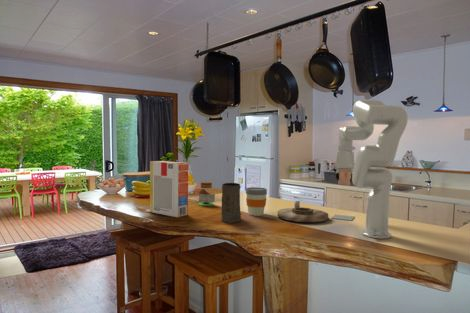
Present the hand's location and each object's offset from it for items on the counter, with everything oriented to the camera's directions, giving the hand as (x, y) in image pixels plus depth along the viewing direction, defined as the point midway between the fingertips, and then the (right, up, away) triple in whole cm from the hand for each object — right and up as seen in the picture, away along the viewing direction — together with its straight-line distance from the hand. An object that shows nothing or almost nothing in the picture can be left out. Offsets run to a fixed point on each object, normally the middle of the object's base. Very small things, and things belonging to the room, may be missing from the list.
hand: (344, 180), depth 191 cm
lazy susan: (-24, -21, -2) cm, 32 cm away
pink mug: (0, -2, -1) cm, 3 cm away
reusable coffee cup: (-50, -21, +7) cm, 55 cm away
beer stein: (-64, -21, -9) cm, 68 cm away
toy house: (-82, -19, +34) cm, 91 cm away
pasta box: (-101, -20, +5) cm, 103 cm away
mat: (0, -22, +1) cm, 22 cm away
